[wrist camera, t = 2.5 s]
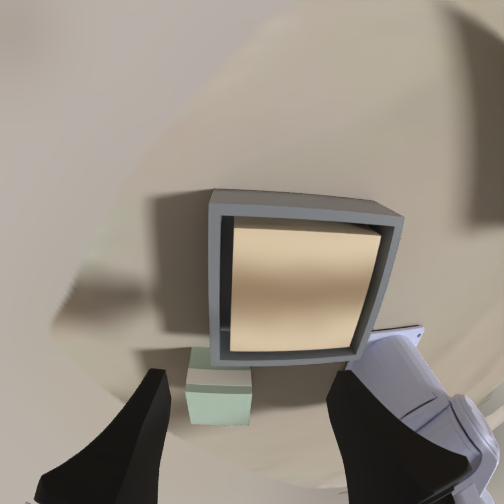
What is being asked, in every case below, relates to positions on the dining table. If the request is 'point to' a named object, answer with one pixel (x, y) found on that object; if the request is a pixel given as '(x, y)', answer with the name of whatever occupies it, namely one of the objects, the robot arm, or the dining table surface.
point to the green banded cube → (217, 391)
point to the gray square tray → (293, 207)
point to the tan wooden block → (298, 282)
